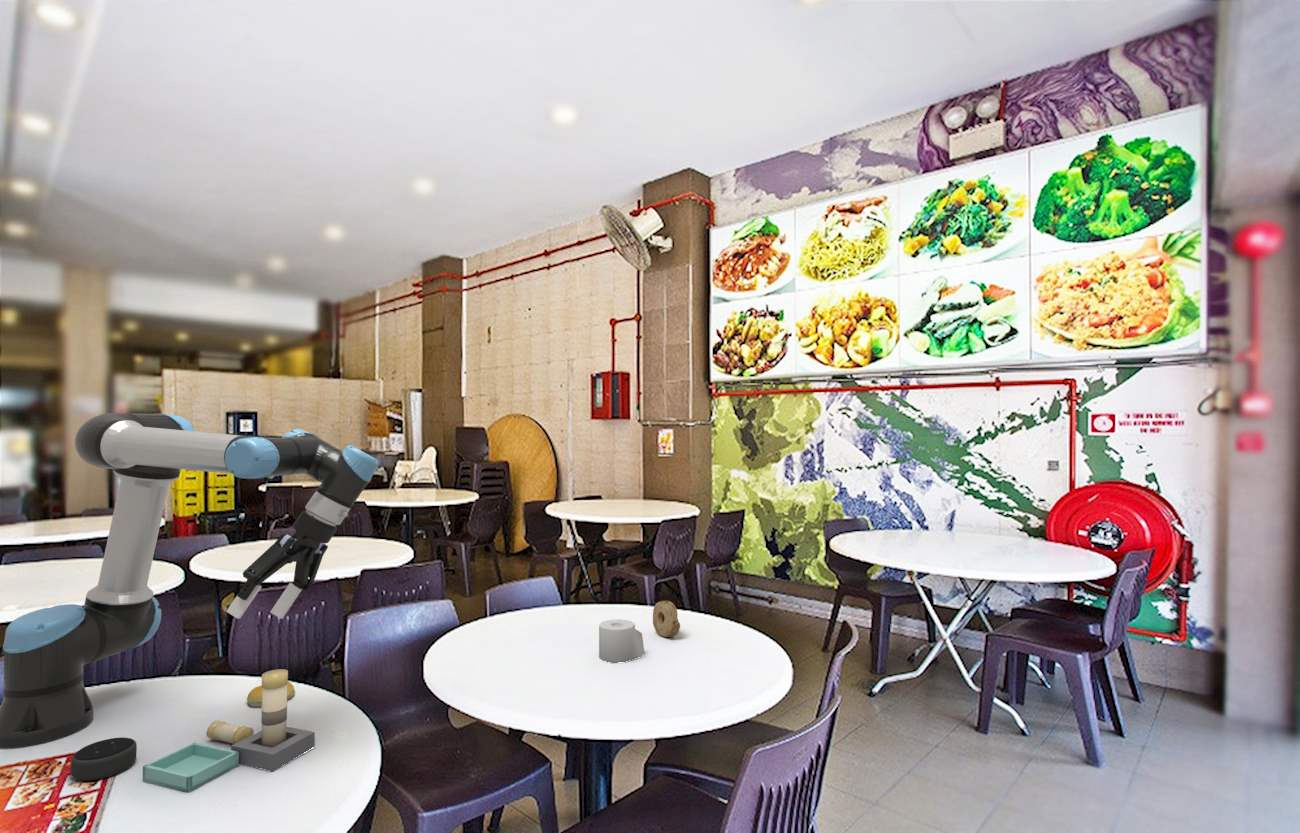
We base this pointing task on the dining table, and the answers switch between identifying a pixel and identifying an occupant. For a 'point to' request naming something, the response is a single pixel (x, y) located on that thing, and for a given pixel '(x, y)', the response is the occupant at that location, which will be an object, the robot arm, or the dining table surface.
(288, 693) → the bread roll
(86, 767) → the smart speaker
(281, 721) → the fuse
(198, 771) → the parts tray
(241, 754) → the socket block
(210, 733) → the fuse
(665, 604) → the stone disc
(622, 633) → the toilet tissue
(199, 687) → the dining table surface
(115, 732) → the dining table surface
